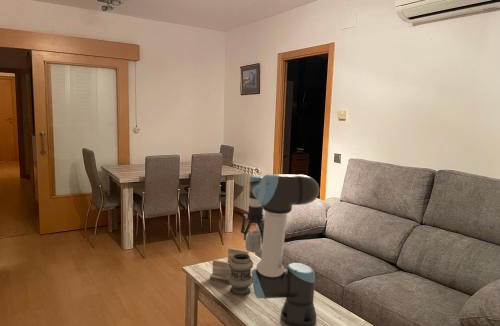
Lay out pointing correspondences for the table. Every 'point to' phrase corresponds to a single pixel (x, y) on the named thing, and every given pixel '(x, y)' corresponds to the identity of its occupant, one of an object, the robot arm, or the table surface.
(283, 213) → the robot arm
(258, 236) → the mug
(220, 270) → the shelf
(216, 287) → the table surface
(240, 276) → the apothecary jar
